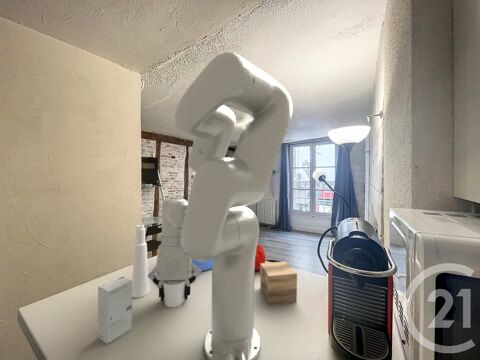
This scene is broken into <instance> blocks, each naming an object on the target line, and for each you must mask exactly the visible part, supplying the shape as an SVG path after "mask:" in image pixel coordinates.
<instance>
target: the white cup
mask: <svg viewBox="0 0 480 360" xmlns="http://www.w3.org/2000/svg"><path fill="white" fill-rule="evenodd" d="M163 285H164V296H165V298H164V305H166V307H168V308H177V307H179V306H181V305H182V304H183V303H185V301H186V300H185V286H186V283H185V281H184V280H170V281H164V282H163Z"/></svg>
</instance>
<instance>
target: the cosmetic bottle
mask: <svg viewBox="0 0 480 360" xmlns="http://www.w3.org/2000/svg"><path fill="white" fill-rule="evenodd" d="M133 245H134V246H133V257H132V259H133V260H132V279H131V280H132V298H134V299H135V298H136V299H138V298H142V297H145V296H147V295H148V294H150V292H151V291H152V290H151V286H150V285H151V284H150V278H149V277H148V274H149V265H148V264H149V263H148V244H147V242H146V228H145V224H138V225H136V228H135V243H134V244H133Z"/></svg>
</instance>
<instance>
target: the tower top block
mask: <svg viewBox="0 0 480 360" xmlns="http://www.w3.org/2000/svg"><path fill="white" fill-rule="evenodd" d="M259 277H260V280H261V279H262V280H263V282H264V284H265V286H266V287H267V289H268V291H275V290H285V289H296V288H297V289H298V287H297V286H298V273H297V272H296V271H295V270H294V269H293V268H292V266H290V264H288V263H287V261H275V262H265V263H260V273H259Z"/></svg>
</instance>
